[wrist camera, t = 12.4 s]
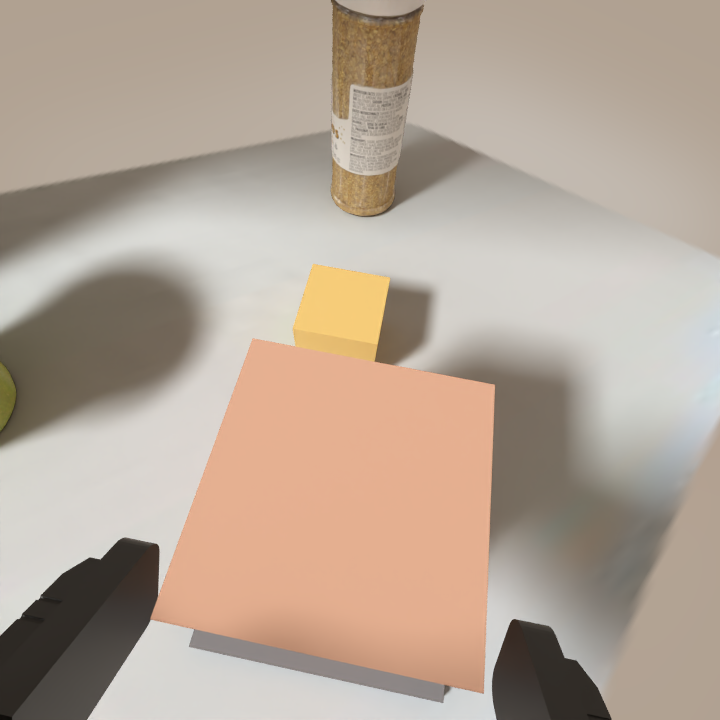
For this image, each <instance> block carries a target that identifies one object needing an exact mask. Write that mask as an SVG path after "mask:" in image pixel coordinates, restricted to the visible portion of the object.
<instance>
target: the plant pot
mask: <svg viewBox="0 0 720 720" xmlns="http://www.w3.org/2000/svg"><path fill="white" fill-rule="evenodd" d="M15 400H16V388H15V385H14V383H13V380H12V378H11V375H10V373H9V372H8V370H7V368H6V367H5V366H4V365H3V364H2V363H1V362H0V431H1V430H2V429H3V427H4V426H5V425H6V423H7V421H8V419H9V417H10V416H11V413H12V411H13V408H14V405H15Z"/></svg>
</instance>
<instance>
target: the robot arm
mask: <svg viewBox="0 0 720 720" xmlns="http://www.w3.org/2000/svg"><path fill="white" fill-rule="evenodd" d="M158 578H159V546H158V545H157V544H154V543H149V542H144V541H140V540H135V539H130V538H122V539H120V540H119V541H118V542H117V543H116V544H115V545H114V546H113V547H112V548H111V549H110V550H109V551H108V552H107V553H106V554H105V555H104V557H103V558H102V559H101V560H99V559H95V558H88V559H87V560H85V561H83V562H81V563H80V564H78V565H76V566H75V567H73V568H71V569H70V570H68V571H66V572H65V573H63V574H62V575H61V576H60V577H59V578H58V579H57V580H56V581H55V582H54V583H53V584H52V585H51V586H50V587H49V588H48V589H47V590H46V591H45V592H44V593H43V594H42V595H41V597H40V599H39V600H36V601H35V602H34V603H33V604H32V605H31V606H30V607H29V608H28V609H27V610H26V611H25V612H24V613H23V614H22V616H21V618H20V619H17V620H16V621H15V622H14V623H13V624H12V625H11V626H10V627H9V628H8V629H7V630H6V631H5V632H4V633H3V634H2V635H1V636H0V720H87V719H88V717H89V716H90V714H91V713H92V711H93V709H94V708H95V706H96V705H97V703H98V702H99V700H100V699H101V697H102V696H103V694H104V693H105V691H106V689H107V688H108V686H109V685H110V683H111V682H112V680H113V679H114V677H115V676H116V674H117V672H118V671H119V669H120V668H121V666H122V665H123V663H124V662H125V660H126V659H127V657H128V655H129V654H130V652H131V651H132V649H133V648H134V646H135V645H136V643H137V642H138V640H139V638H140V637H141V635H142V634H143V632H144V631H145V629H146V628H147V626H148V624H149V622H150V620H151V619H150V618H151V615H152V612H153V610H154V607H155V604H156V602H157V598H158ZM492 696H493V704H494V709H495V714H496V719H497V720H611V717H610V714H609V712H608V710H607V708H606V705H605V703H604V701H603V699H602V696H601V694H600V692H599V690H598V688H597V687H596V685H595V684H594V683H593V681H592V680H591V679H590V677H589V676H588V675H587V674H586V672H585V671H584V670H583V668H582V667H581V666H580V664H579V663H578V662H577V661H576V660H571V659H566V658H564V655H563V653H562V650H561V648H560V645H559V643H558V640H557V638H556V635H555V633H554V631H553V630H552V629H551V627H549V626H545V625H540V624H535V623H531V622H526V621H521V620H516V619H514V620H512V621H511V623H510V625H509V628H508V630H507V633H506V636H505V639H504V642H503V645H502V648H501V650H500V653H499V656H498V659H497V662H496V665H495V668H494V672H493V679H492Z"/></svg>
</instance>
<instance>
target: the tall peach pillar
mask: <svg viewBox="0 0 720 720" xmlns="http://www.w3.org/2000/svg"><path fill="white" fill-rule="evenodd" d="M494 398H495V385H494V384H488V383H483V382H478V381H473V380H467V379H462V378H457V377H452V376H447V375H441V374H436V373H431V372H426V371H420V370H415V369H410V368H405V367H399V366H394V365H389V364H384V363H379V362H373V361H368V360H363V359H358V358H352V357H347V356H342V355H337V354H332V353H326V352H321V351H316V350H311V349H305V348H300V347H295V346H290V345H284V344H279V343H274V342H269V341H264V340H258V339H252V342H251V345H250V347H249V350H248V353H247V356H246V358H245V361H244V364H243V367H242V369H241V372H240V375H239V378H238V380H237V383H236V386H235V388H234V391H233V394H232V397H231V399H230V402H229V405H228V408H227V410H226V413H225V416H224V419H223V421H222V424H221V427H220V429H219V432H218V435H217V438H216V440H215V443H214V446H213V449H212V451H211V454H210V457H209V459H208V462H207V465H206V468H205V470H204V473H203V476H202V479H201V481H200V484H199V487H198V490H197V492H196V495H195V498H194V500H193V503H192V506H191V509H190V511H189V514H188V517H187V520H186V522H185V525H184V528H183V531H182V533H181V536H180V539H179V541H178V544H177V547H176V550H175V552H174V555H173V558H172V561H171V563H170V566H169V569H168V572H167V574H166V577H165V580H164V582H163V585H162V588H161V591H160V593H159V596H158V599H157V602H156V604H155V607H154V610H153V612H152V615H151V618H150V619H151V620H155V621H160V622H164V623H169V624H173V625H178V626H182V627H187V628H191V629H196V630H200V631H205V632H209V633H214V634H218V635H223V636H227V637H232V638H236V639H241V640H245V641H250V642H254V643H259V644H263V645H268V646H272V647H277V648H281V649H286V650H290V651H295V652H299V653H303V654H308V655H312V656H317V657H321V658H326V659H330V660H335V661H339V662H344V663H348V664H353V665H357V666H362V667H366V668H371V669H375V670H380V671H384V672H389V673H393V674H398V675H402V676H407V677H411V678H416V679H420V680H425V681H429V682H434V683H438V684H443V685H447V686H452V687H456V688H461V689H465V690H470V691H474V692H479V693H483V694H484V671H485V644H486V616H487V589H488V562H489V534H490V507H491V480H492V452H493V425H494Z"/></svg>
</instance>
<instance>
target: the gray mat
mask: <svg viewBox="0 0 720 720" xmlns="http://www.w3.org/2000/svg"><path fill="white" fill-rule="evenodd" d="M189 647H192V648H197V649H201V650H206V651H211V652H215V653H220V654H224V655H229V656H233V657H238V658H242V659H247V660H251V661H256V662H260V663H265V664H269V665H274V666H278V667H283V668H287V669H292V670H296V671H301V672H305V673H310V674H314V675H319V676H323V677H328V678H333V679H337V680H342V681H346V682H351V683H355V684H360V685H364V686H369V687H373V688H378V689H382V690H387V691H391V692H396V693H400V694H405V695H409V696H414V697H418V698H423V699H427V700H432V701H436V702H441V703H443V700H444V686H445V685H443V684H438V683H434V682H429V681H425V680H420V679H416V678H411V677H407V676H402V675H398V674H393V673H389V672H384V671H380V670H375V669H371V668H366V667H362V666H357V665H353V664H348V663H344V662H339V661H335V660H330V659H326V658H321V657H317V656H312V655H308V654H303V653H299V652H295V651H290V650H286V649H281V648H277V647H272V646H268V645H263V644H259V643H254V642H250V641H245V640H241V639H236V638H232V637H227V636H223V635H218V634H214V633H209V632H205V631H200V630H196V629H194V632H193V635H192V638H191V642H190V645H189Z"/></svg>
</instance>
